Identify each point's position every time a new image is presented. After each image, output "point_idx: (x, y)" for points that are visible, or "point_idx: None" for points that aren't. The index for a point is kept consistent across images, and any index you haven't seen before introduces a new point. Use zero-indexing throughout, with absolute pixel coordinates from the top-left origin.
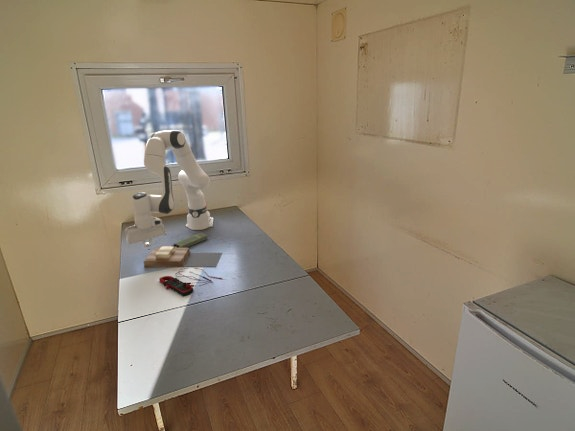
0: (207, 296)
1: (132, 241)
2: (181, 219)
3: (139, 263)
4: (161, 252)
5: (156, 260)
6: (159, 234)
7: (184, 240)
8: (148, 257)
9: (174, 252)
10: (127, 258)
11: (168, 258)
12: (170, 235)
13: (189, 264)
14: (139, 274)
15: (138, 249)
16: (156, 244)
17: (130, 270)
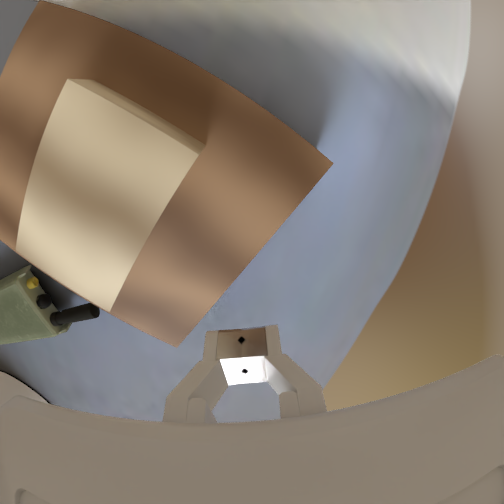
0: None
1: (494, 386)
2: None
3: (325, 235)
4: (117, 170)
5: (211, 94)
6: (46, 424)
7: (18, 330)
8: (266, 215)
9: None
10: (350, 332)
11: (93, 80)
12: (109, 410)
13: (21, 25)
14: (379, 63)
15: (264, 386)
16: (169, 388)
17: (407, 170)
